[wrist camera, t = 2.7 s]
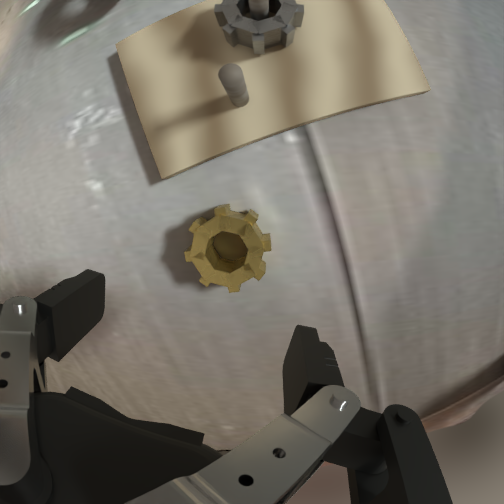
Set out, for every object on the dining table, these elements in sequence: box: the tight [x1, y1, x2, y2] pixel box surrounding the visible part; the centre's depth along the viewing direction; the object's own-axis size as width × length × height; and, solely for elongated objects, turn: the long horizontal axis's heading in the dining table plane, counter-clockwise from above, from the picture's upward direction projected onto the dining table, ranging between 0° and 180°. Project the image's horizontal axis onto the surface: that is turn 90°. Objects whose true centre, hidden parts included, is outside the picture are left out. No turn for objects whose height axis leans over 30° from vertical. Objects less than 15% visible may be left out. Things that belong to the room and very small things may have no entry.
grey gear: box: [214, 0, 304, 54], centre depth 17 cm, size 6×6×3 cm
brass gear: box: [184, 204, 271, 293], centre depth 23 cm, size 6×6×3 cm
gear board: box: [115, 0, 431, 179], centre depth 17 cm, size 24×14×8 cm, turn 111°
